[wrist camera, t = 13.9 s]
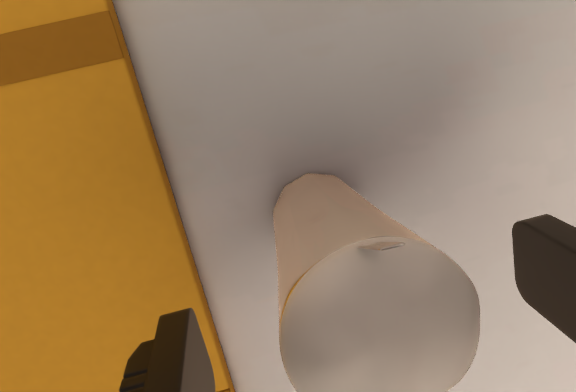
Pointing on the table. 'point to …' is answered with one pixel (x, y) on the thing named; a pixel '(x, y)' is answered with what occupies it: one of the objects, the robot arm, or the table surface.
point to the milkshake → (366, 297)
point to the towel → (83, 206)
